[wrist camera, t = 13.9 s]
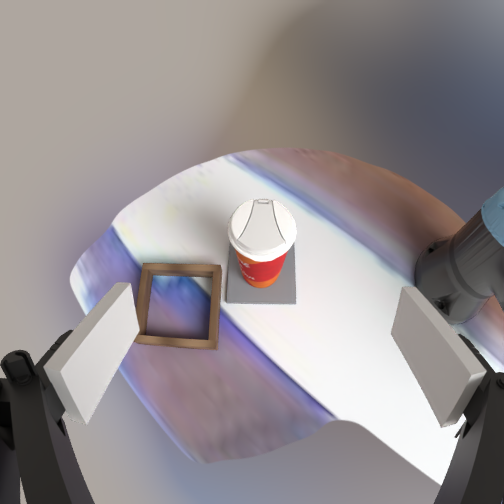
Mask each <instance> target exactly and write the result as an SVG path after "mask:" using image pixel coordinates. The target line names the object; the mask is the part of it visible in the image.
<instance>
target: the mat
mask: <svg viewBox="0 0 504 504" xmlns="http://www.w3.org/2000/svg"><path fill="white" fill-rule="evenodd" d="M227 303H241V304H296V282H295V252H294V242H293V244H292V246H291V247H290V249H289V250H288V252H287V255H286V258H285V261H284V263H283V266H282V269H281V271H280V274H279V276H278V278H277V280H276V281H275V282H274V283H273V284H272V285H270V286H268V287H266V288H256V287H253V286H251V285H249V284H248V283H247V282H246V281H245V279H244V277H243V275H242V272H241V269H240V266H239V262H238V259H237V255H236V251H235V248H234V247H233V245H232V244H231V242H230V252H229V269H228V286H227Z"/></svg>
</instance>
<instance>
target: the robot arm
mask: <svg viewBox="0 0 504 504" xmlns="http://www.w3.org/2000/svg"><path fill="white" fill-rule="evenodd" d="M415 281H416V287H417V288H416V287H402V290H401V295H400V299H399V304H398V308H397V312H396V316H395V320H394V324H393V327H392V331H391V335H392V337H393V339H394V340H395V342H396V344H397V345H398V347H399V349H400V351H401V352H402V354H403V356H404V358H405V360H406V361H407V363H408V365H409V367H410V368H411V370H412V372H413V374H414V376H415V378H416V379H417V381H418V383H419V385H420V387H421V389H422V391H423V393H424V394H425V396H426V398H427V400H428V402H429V404H430V406H431V408H432V410H433V412H434V414H435V416H436V418H437V420H438V422H439V424H440V426H441V428H443V427H446V426H450V425H453V424H456V423H457V422H458V420H459V419H460V417H461V415H462V414H464V415H465V417H466V420H465V422H464V423H463V425H462V426H461V428H460V429H459V431H458V432H457V434H456V435H455V438H457V437H458V435H459V434H460V436H459V439H458V442H457V446H456V449H455V452H454V455H453V457H452V460H451V463H450V466H449V468H448V471H447V474H446V476H445V479H444V481H443V484H442V486H441V489H440V491H439V493H438V495H437V497H436V500H435V502H434V504H501V502H502V504H504V373H502V372H498V373H495V371H494V370H493V369H492V368H491V366H490V365H489V364H488V362H487V361H486V360H485V359H484V357H483V356H482V355H481V354H479V351H478V350H477V349H476V348H475V347H474V345H473V344H472V343H471V342H470V341H469V340H468V339H467V338H465V337H464V336H463V335H461V334H457V333H456V332H455V331H454V330H453V329H452V327H451V326H450V325H449V324H460V323H463V322H465V321H467V320H469V319H471V318H473V317H474V316H475V315H476V314H477V313H478V312H479V311H480V310H481V309H482V307H483V306H484V305H485V303H486V302H487V301H488V300H489V298H490V297H492V296H493V295H495V297H496V298H497V300H498V302H499V304H500V306H501V308H502V310H503V312H504V187H503V188H501V189H500V190H498V191H497V192H496V193H495V194H494V195H493V196H492V197H491V198H489V199H487V200H486V201H485V203H484V204H483V206H482V208H481V209H480V210H479V211H478V212H477V214H476V215H474V216H473V217H472V218H471V219H470V220H469V221H468V222H467V223H466V224H465V225H464V226H463V227H462V228H461V229H460V230H459V231H458V232H457V233H456V234H454V235H451V236H448V237H445V238H442V239H438V240H436V241H434V242H433V243H431V244H430V245H429V246H428V247H427V248H426V249H425V250H424V251H423V252H422V253H421V255H420V257H419V259H418V261H417V264H416V270H415ZM139 331H140V330H139V325H138V320H137V315H136V310H135V305H134V299H133V294H132V288H131V283H120V282H117V283H116V284H115V285H114V286H113V287H112V288H111V289H110V290H109V291H108V293H107V294H106V295H105V296H104V297H103V298H102V299H101V300H100V301H99V302H98V303H97V305H96V306H95V307H94V308H93V309H92V310H91V311H90V312H89V313H88V315H87V316H86V317H85V318H84V319H83V320H82V322H81V323H80V324H79V325H78V326H77V327H76V328H75V330H69V331H68V332H66V333H64V334H63V335H61V336H60V337H59V338H58V340H57V341H56V342H55V344H53V345H52V346H51V348H50V350H48V351H47V352H46V353H45V355H44V356H43V357H42V358H41V359H40V361H39V362H38V363H37V364H36V365H35V366H34V363H33V361H32V359H31V357H30V354H29V353H28V352H26V351H24V350H17V351H13V352H10V353H9V354H7V355H6V356H5V357H4V358H3V359H2V361H1V364H0V366H1V368H2V370H3V372H4V373H5V375H6V377H7V378H6V379H5V378H0V504H20V477H21V481H22V486H23V490H24V494H25V498H26V502H27V504H95V503H94V501H93V499H92V497H91V495H90V492H89V490H88V488H87V485H86V483H85V480H84V478H83V475H82V473H81V470H80V468H79V465H78V463H77V459H76V457H75V454H74V451H73V448H72V445H71V442H70V439H69V436H68V433H67V429H66V426H65V422H64V421H63V419H62V415H63V413H64V412H65V411H66V412H67V414H68V416H69V418H70V419H71V420H72V421H75V422H78V423H82V424H85V425H87V424H88V422H89V420H90V418H91V416H92V414H93V413H94V411H95V409H96V407H97V405H98V403H99V401H100V399H101V398H102V396H103V394H104V392H105V390H106V388H107V387H108V385H109V383H110V381H111V379H112V377H113V376H114V374H115V372H116V371H117V369H118V367H119V365H120V363H121V362H122V360H123V358H124V356H125V355H126V353H127V351H128V350H129V348H130V346H131V344H132V343H133V341H134V339H135V338H136V336H137V334H138V332H139ZM502 498H503V501H502Z"/></svg>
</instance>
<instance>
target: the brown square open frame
mask: <svg viewBox="0 0 504 504" xmlns="http://www.w3.org/2000/svg"><path fill="white" fill-rule="evenodd" d="M153 275H160V276H189V277H213V279H212V293H211V307H210V323H209V339H208V340H196V339H181V338H168V337H156V336H146V326H147V317H148V309H149V301H150V293H151V286H152V279H153ZM221 282H222V269H221V265H203V264H162V263H143V266H142V272H141V279H140V285H139V292H138V299H137V306H136V315H137V320H138V325H139V330H140V331H139V332H138V334H137V336H136V338H135V339H134V342H136V343H138V344H146V345H156V346H166V347H178V348H192V349H207V350H218V335H219V316H220V299H221Z"/></svg>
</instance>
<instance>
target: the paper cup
mask: <svg viewBox="0 0 504 504" xmlns="http://www.w3.org/2000/svg"><path fill="white" fill-rule="evenodd" d="M228 236H229V239H230V242H231V244H232V245H233V247H234V248H235V251H236V255H237V259H238V262H239V266H240V269H241V272H242V275H243V277H244V279H245V281H246V282H247V283H248V284H249V285H251V286H253V287H256V288H266V287H268V286H270V285H272V284H273V283H274V282H275V281H276V280H277V278H278V276H279V274H280V271H281V269H282V266H283V263H284V261H285V258H286V255H287V252H288V250H289V249H290V247H291V246H292V244H293V242H294V240H295V237H296V224H295V221H294V219H293V217H292V215H291V214H290V212H289V211H288V209H287V208H286V207H285V206H284V205H282V204H281V203H279V202H277V201H275V200H273V201H272V200H268V199H258V200H254V199H251V200H249V201H246V202H245V203H243V204H242V205H240V206H239V207H238V208H237V209H236V211H235V212H234V214H233V215H232V217H231V218H230V221H229V224H228Z"/></svg>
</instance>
